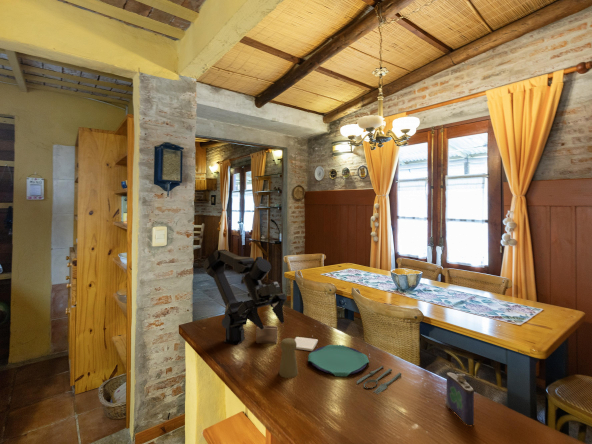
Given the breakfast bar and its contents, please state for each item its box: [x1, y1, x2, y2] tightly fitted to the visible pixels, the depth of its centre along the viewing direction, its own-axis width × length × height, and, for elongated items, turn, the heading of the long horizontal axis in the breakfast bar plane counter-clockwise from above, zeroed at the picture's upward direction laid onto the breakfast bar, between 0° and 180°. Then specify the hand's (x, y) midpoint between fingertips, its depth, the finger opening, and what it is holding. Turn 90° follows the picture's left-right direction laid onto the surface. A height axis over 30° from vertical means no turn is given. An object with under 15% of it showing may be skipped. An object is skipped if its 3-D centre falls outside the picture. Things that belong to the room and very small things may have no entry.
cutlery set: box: [307, 344, 402, 395], centre depth 104 cm, size 20×30×2 cm, turn 42°
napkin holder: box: [255, 324, 278, 345], centre depth 124 cm, size 8×3×6 cm, turn 83°
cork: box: [278, 337, 299, 379], centre depth 100 cm, size 6×6×11 cm
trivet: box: [294, 336, 319, 352], centre depth 122 cm, size 9×9×1 cm
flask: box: [445, 372, 475, 426], centre depth 80 cm, size 9×3×11 cm, turn 8°
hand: (273, 325), depth 107 cm, fingers open, 9 cm apart
